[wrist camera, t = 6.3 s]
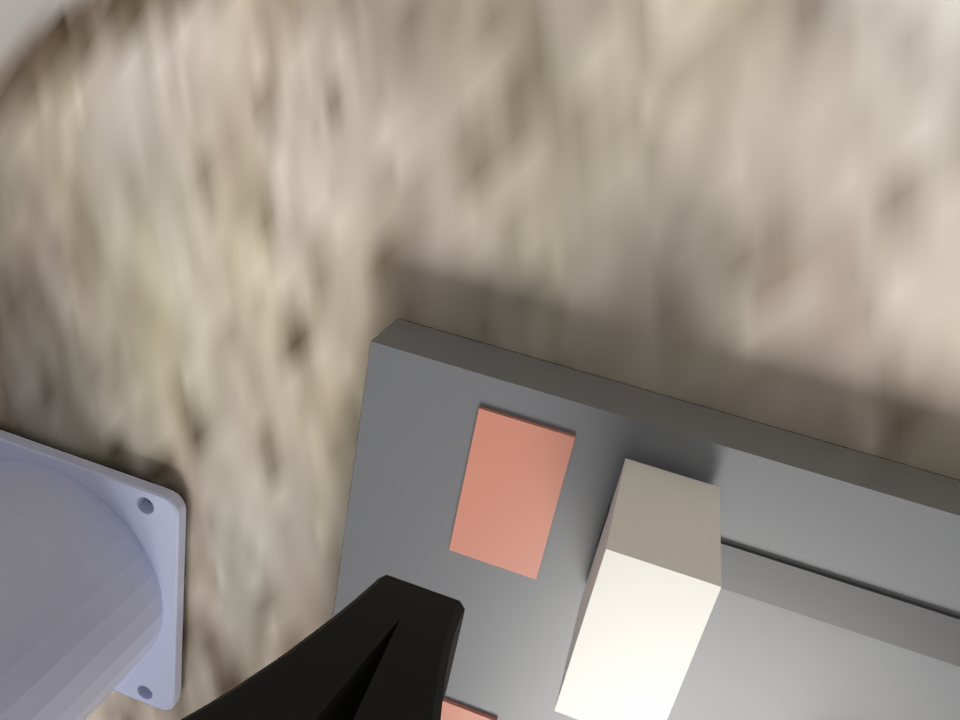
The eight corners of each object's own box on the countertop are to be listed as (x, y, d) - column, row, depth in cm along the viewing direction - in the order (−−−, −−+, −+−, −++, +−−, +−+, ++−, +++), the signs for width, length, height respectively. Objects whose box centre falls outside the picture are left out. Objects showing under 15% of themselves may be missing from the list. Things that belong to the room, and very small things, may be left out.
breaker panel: (336, 725, 22) (310, 771, 21) (397, 318, 17) (369, 343, 15) (1078, 1020, 19) (1108, 1101, 17) (1456, 623, 13) (1547, 692, 12)
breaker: (580, 601, 16) (554, 710, 13) (625, 458, 15) (605, 549, 12) (665, 630, 16) (655, 748, 13) (719, 487, 14) (721, 587, 12)
